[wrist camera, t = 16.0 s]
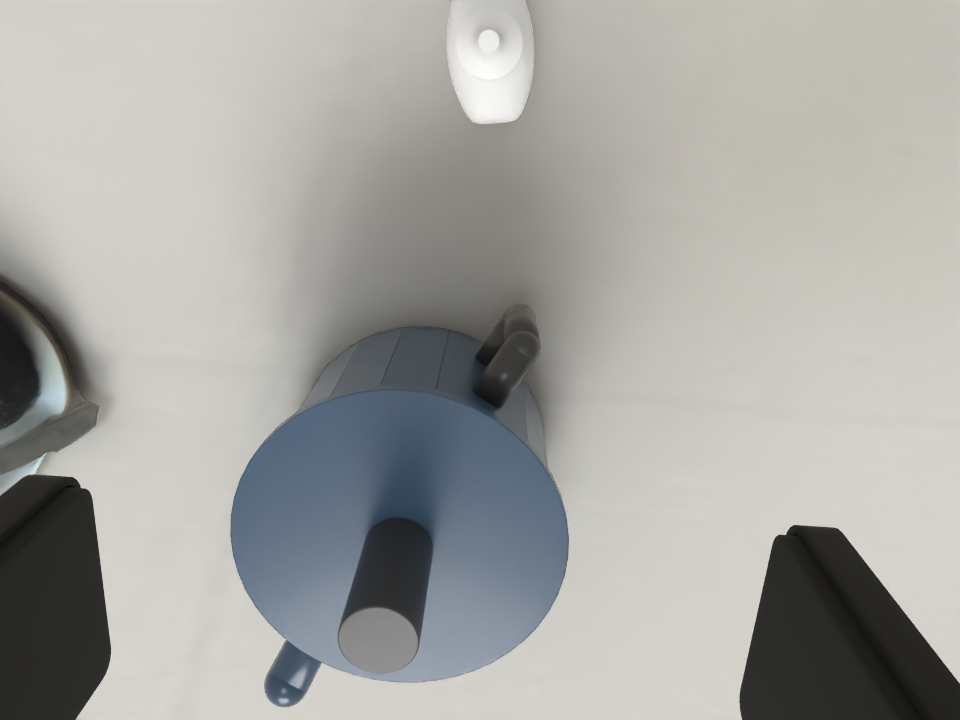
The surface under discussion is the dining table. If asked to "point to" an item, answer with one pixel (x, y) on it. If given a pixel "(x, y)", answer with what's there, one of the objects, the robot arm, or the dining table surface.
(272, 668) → the teapot spout and handle
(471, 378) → the teapot
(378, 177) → the dining table surface
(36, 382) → the salad plate
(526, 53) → the eye dropper bottle
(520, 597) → the teapot lid
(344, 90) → the dining table surface
